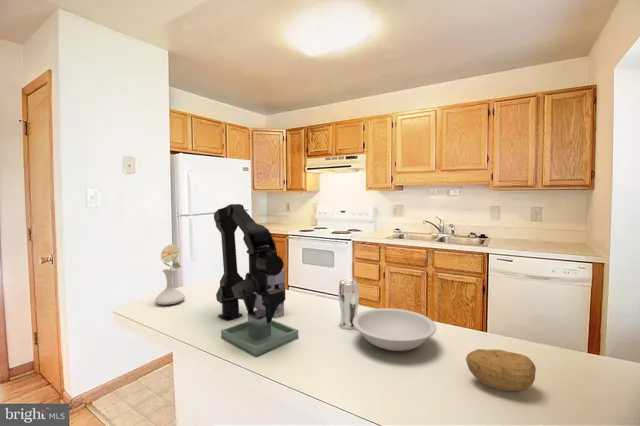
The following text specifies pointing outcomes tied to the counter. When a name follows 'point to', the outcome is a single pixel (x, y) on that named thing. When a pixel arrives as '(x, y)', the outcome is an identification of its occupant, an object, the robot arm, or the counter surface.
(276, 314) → the cake pan box
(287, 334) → the tray
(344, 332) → the counter surface
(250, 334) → the capped grey block
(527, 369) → the potato
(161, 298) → the flower in vase
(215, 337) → the counter surface
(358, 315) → the soup bowl
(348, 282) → the beer glass
